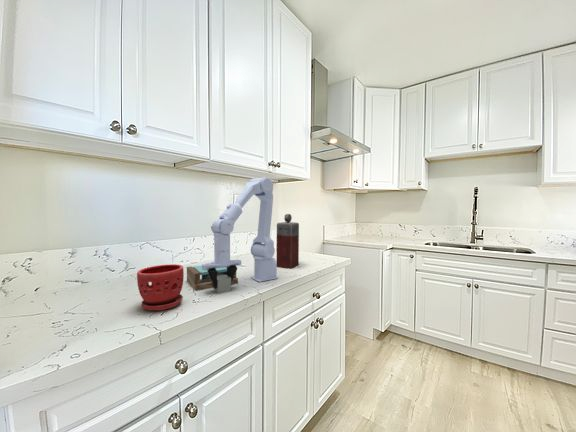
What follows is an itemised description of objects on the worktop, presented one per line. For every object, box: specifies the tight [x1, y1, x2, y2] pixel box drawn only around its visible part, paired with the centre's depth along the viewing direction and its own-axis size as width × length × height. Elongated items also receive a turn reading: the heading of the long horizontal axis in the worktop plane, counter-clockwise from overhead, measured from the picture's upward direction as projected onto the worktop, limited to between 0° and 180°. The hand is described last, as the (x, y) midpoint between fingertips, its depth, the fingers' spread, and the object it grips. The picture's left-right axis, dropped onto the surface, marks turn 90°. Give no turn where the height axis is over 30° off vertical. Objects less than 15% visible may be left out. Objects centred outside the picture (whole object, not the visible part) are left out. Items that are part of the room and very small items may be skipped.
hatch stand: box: [186, 265, 239, 291], centre depth 103 cm, size 17×15×6 cm
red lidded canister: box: [275, 213, 300, 270], centre depth 132 cm, size 9×11×28 cm
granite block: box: [213, 275, 232, 294], centre depth 93 cm, size 5×5×5 cm
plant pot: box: [136, 263, 185, 312], centre depth 78 cm, size 13×13×12 cm
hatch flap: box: [192, 264, 227, 281], centre depth 103 cm, size 12×12×3 cm
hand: (222, 286), depth 93 cm, fingers closed on granite block, 5 cm apart
